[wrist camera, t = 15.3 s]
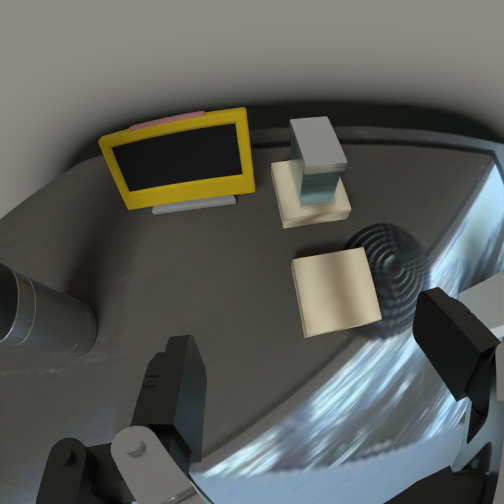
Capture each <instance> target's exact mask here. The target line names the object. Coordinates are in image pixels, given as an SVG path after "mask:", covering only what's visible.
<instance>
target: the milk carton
mask: <svg viewBox="0 0 504 504" xmlns="http://www.w3.org/2000/svg"><path fill="white" fill-rule="evenodd" d="M458 301H460V302H462V303H463V304H464V305H465V306H466V307H467V308H468V309H469V310H470V311H471V313H473V314H474V315H475V316H476V317H477V319H479V320H480V321H481V322H482V323H483V324H484V325H485V326H486V327H487V328H488V329H489V330H490V331H491V332H492V333H493V334H494V335H495V336H496V337H501V336H504V270H503V271H501V272H499V273H497V274H496V275H494V276H492V277H490V278H488V279H486V280H484V281H482V282H481V283H479V284H477V285H475V286H473V287H471V288H469V289H467V290H465V291H463V292H461V293H459V294H458Z"/></svg>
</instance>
